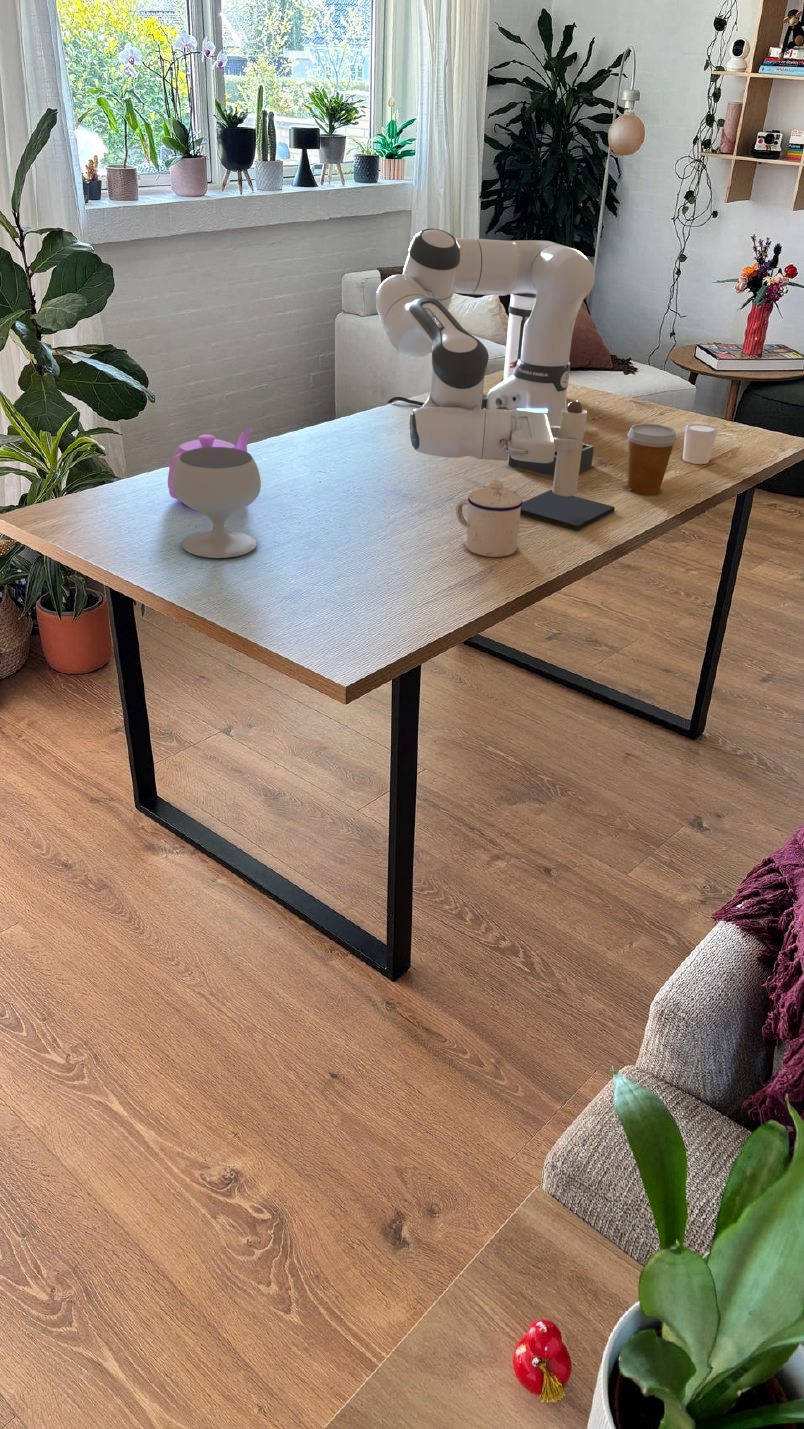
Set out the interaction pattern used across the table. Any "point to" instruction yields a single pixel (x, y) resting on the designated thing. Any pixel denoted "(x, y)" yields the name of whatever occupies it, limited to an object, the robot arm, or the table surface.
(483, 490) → the teacup with lid
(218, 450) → the chalice
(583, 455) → the basket
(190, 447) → the teapot
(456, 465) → the table surface
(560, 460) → the pepper mill
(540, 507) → the mat
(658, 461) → the disposable coffee cup
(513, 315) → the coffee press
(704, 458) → the white cup
